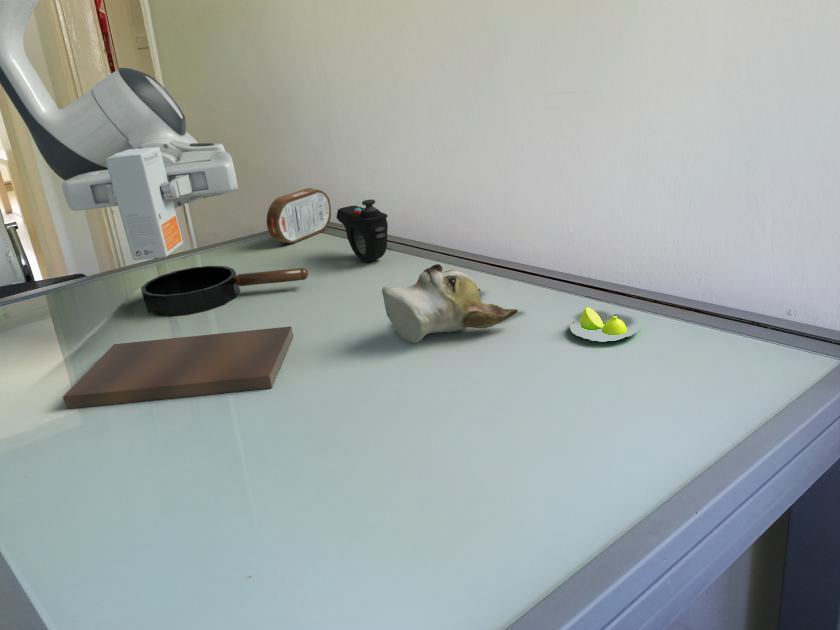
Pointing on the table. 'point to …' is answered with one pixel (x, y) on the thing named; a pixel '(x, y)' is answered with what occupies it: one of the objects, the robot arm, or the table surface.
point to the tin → (298, 215)
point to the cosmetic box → (144, 202)
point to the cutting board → (183, 367)
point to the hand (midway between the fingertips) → (142, 195)
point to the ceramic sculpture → (439, 305)
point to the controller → (365, 230)
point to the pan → (205, 288)
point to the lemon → (594, 322)
